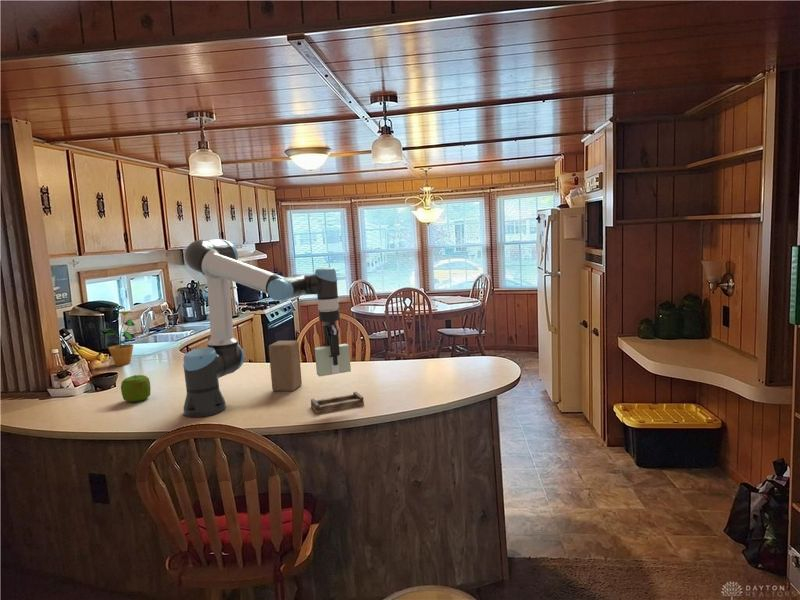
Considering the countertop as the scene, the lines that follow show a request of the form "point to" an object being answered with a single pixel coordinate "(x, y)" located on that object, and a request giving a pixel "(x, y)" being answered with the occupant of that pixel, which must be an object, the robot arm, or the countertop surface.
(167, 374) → the countertop surface
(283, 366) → the wooden block
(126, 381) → the apple
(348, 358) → the rectangular block
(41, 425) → the countertop surface
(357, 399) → the track
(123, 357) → the potted plant
